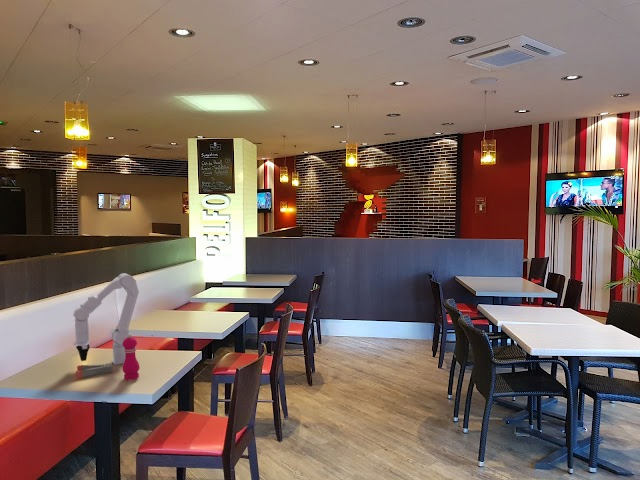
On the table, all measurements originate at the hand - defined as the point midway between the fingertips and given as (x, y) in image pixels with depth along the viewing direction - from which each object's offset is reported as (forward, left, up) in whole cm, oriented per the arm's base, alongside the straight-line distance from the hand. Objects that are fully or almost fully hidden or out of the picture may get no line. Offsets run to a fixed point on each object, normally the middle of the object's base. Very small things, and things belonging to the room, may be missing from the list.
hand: (83, 360), depth 236 cm
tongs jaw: (-2, +7, -4) cm, 9 cm away
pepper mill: (-16, +27, -4) cm, 32 cm away
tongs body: (-3, +12, -4) cm, 13 cm away
